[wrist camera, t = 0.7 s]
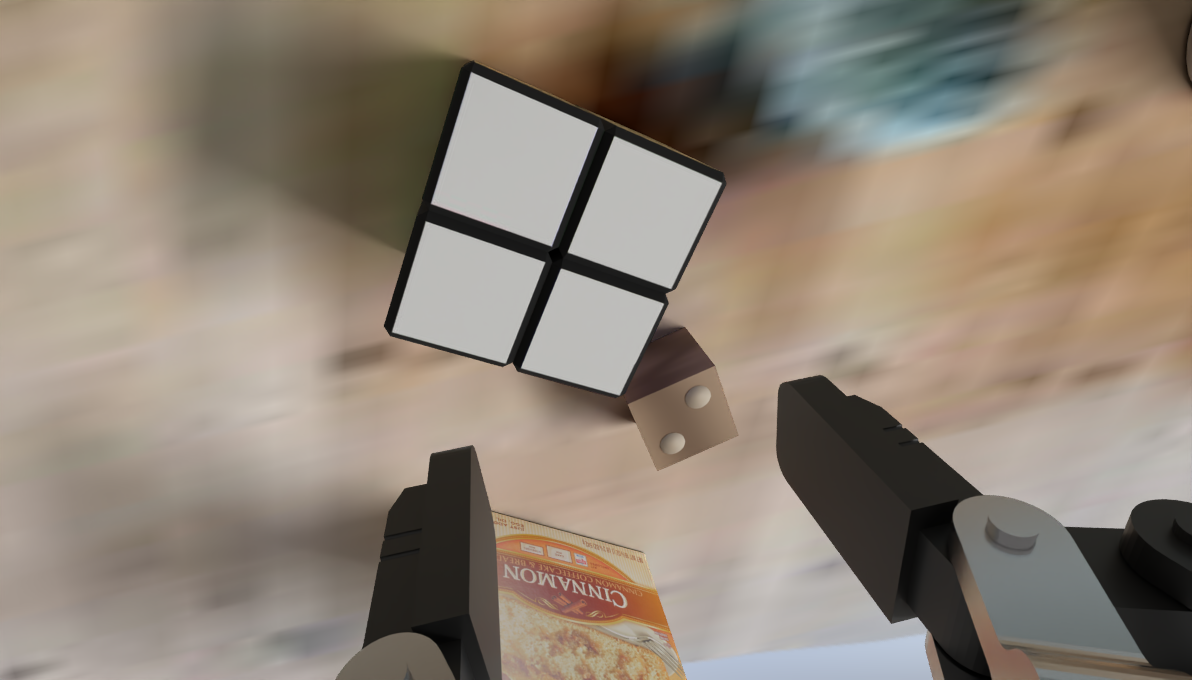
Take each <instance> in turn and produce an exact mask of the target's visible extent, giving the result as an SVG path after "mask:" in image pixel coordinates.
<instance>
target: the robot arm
mask: <svg viewBox="0 0 1192 680" xmlns="http://www.w3.org/2000/svg"><path fill="white" fill-rule="evenodd" d="M1186 61H1187V68H1188V74H1189V77H1190V79H1191V81H1192V25H1191V29H1190V34H1189V38H1188V42H1187V57H1186ZM776 451H777V458H778V462H779V466H780V469H781V471H782V473H783V476H784V477H785V479H786V481H787V482H788V484H789V485H790V486H791V488H792V489H793V490H794V492H795V493H796V494H797V496H798V497H799V499H800V500H801V501H802V503H803V504H804V505H805V507H806V508H807V509H808V511H809V512H810V514H811V515H812V516H813V518H814V519H815V520H816V522H817V523H818V524H819V526H820V527H821V529H822V530H823V531H824V533H825V534H826V535H827V537H828V538H829V540H830V541H831V542H832V544H833V545H834V546H835V548H836V549H837V550H838V552H839V553H840V555H841V556H842V557H843V559H844V560H845V561H846V563H847V564H848V565H849V567H850V568H851V570H852V571H853V572H854V574H855V575H856V576H857V578H858V579H859V580H860V582H861V583H862V585H863V586H864V587H865V589H866V590H867V591H868V593H869V594H870V595H871V597H872V598H873V600H874V601H875V602H876V604H877V605H878V606H879V608H880V609H881V610H882V612H883V613H884V615H885V616H886V617H887V619H888V620H889V621H890V623H891V624H892V623H896V622H900V621H904V620H908V619H912V618H915V617H918V618H919V619H920V621H921V622H922V623H923V624H924V626H925V627H926V628H927V629H928V630H927V634H926V639H925V648H926V654H927V658H928V661H929V665H930V669H931V673H932V677H933V680H1192V503H1189V502H1184V501H1178V500H1167V499H1161V500H1150V501H1146V502H1143V503H1140V504H1138V505H1137V506H1135V508H1134V509H1133V510H1132V512H1131V515H1130V517H1129V520H1128V522H1127V524H1126V527H1125V529H1114V528H1084V527H1064V526H1063V525H1062V524H1061V523H1060V522H1059V521H1057V520H1056V519H1055V518H1053V517H1052V516H1051V515H1049V514H1048V513H1046V512H1044V511H1043V510H1041V509H1039V508H1037V507H1035V506H1033V505H1030V504H1028V503H1025V502H1023V501H1019V500H1016V499H1013V498H1008V497H1003V496H995V495H983V494H981V493H980V492H979V491H978V490H977V489H976V488H975V487H973V486H972V485H971V484H970V483H969V482H968V481H966V480H965V479H964V478H963V477H962V476H961V475H959V474H958V473H957V472H956V471H955V470H954V469H953V468H951V467H950V466H949V465H948V464H947V463H946V462H944V461H943V460H942V459H941V458H940V457H939V456H937V455H936V454H935V453H934V452H933V451H932V450H931V449H929V448H928V447H927V446H926V445H925V444H924V443H919V441H918V438H917V437H915V436H914V435H913V434H912V433H911V432H910V431H909V430H907V429H906V428H902V424H900V423H899V422H898V421H897V420H896V419H895V418H893V417H892V416H891V415H890V414H889V413H888V412H887V411H885V410H884V409H883V408H882V407H880V406H878V405H875V404H873V403H871V402H869V401H867V400H865V399H862V398H860V397H858V396H856V395H852V396H846V395H845V394H844V393H843V392H841V391H840V390H839V389H838V388H837V387H836V386H835V385H834V384H833V383H832V382H831V381H829V380H828V379H827V378H826V377H824V376H822V375H818V376H813V377H808V378H803V379H798V380H794V381H789V382H784V383H782V384H781V385H780V387H779V390H778V409H777V440H776ZM384 539H385V541H383V544H382V549H381V555H380V559H381V562H379V565H378V570H377V576H376V581H375V586H374V591H373V597H372V602H371V607H370V612H369V618H368V623H367V628H366V633H365V639H364V643H363V647H362V650H361V651H359V652H358V653H357V654H356V655H355V656H354V657H352V659H351V660H350V661H349V662H348V663H347V664H346V665H345V666H344V667H343V669H342V670H341V671H340V673H339V674H338V676H337V678H336V679H335V680H502V668H501V645H500V621H499V598H498V574H497V550H496V536H495V529H494V522H493V517H492V512H491V508H490V504H489V500H488V496H487V492H486V489H485V485H484V481H483V477H482V473H481V469H480V466H479V462H478V458H477V454H476V451H475V448H474V446H473V445H471V446H466V447H461V448H457V449H452V450H447V451H442V452H437V453H432V454H431V456H430V462H429V471H428V480H427V484H424V485H419V486H414V487H409V488H405V489H404V490H403V492H402V493H401V495H400V496H399V498H398V499H397V501H396V502H395V503H394V505H393V506H392V508H391V509H390V511H389V513H388V518H387V523H386V529H385V534H384Z"/></svg>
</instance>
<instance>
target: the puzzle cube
mask: <svg viewBox="0 0 1192 680" xmlns="http://www.w3.org/2000/svg"><path fill="white" fill-rule="evenodd" d="M725 186H726V181H725V177H724V174H723V172H721V171H719V170H716V169H714V168H712V167H710V166H708V165H706V164H704V163H702V162H699V161H697V160H695V159H693V158H691V157H689V156H687V155H685V154H682V153H681V152H679V151H677V150H675V149H673V148H671V147H669V146H667V145H664V144H662V143H660V142H658V141H656V140H654V139H651V138H649V137H647V136H645V135H642V134H640V133H638V132H636V131H633V130H631V129H629V128H627V127H624V126H622V125H620V124H617V123H615V122H613V121H611V120H608V119H606V118H604V117H602V116H599V115H597V114H595V113H593V112H590V111H588V110H586V109H583V108H581V107H579V106H577V105H573V104H571V103H569V102H567V101H565V100H563V99H561V98H559V97H556V96H554V95H552V94H549V93H547V92H545V91H543V90H540V89H538V88H536V87H534V86H531V85H529V84H527V83H525V82H522V81H520V80H518V79H515V78H513V77H511V76H509V75H506V74H504V73H502V72H500V71H497V70H495V69H493V68H491V67H488V66H486V65H484V64H482V63H479V62H477V61H475V60H473V61H471V62H469V63H467V64H465V65H464V66H463V67H462V68H461V71H460V74H459V77H458V81H457V84H456V87H455V91H454V94H453V97H452V101H451V104H450V107H449V111H448V114H447V117H446V121H445V124H444V127H443V131H442V134H441V137H440V141H439V144H438V147H437V151H436V154H435V157H434V161H433V164H432V167H431V171H430V174H429V177H428V181H427V184H426V187H425V191H424V194H423V197H422V199H423V201H422V204H421V206H420V209H419V212H418V214H417V217H416V221H415V224H414V227H413V231H412V234H411V237H410V241H409V244H408V247H407V251H406V254H405V257H404V261H403V264H402V267H401V271H400V274H399V277H398V281H397V284H396V287H395V291H394V294H393V297H392V301H391V304H390V307H389V311H388V314H387V317H386V321H385V324H384V327H385V329H386V330H387V332H388V333H389V335H390V336H392V337H395V338H399V339H403V340H406V341H410V342H414V343H417V344H421V345H425V346H428V347H432V348H436V349H439V350H443V351H446V352H450V353H454V354H457V355H461V356H465V357H468V358H472V359H476V360H479V361H483V362H487V363H490V364H494V365H497V366H501V367H504V366H506V365H508V364H510V363H512V362H513V364H514V366H515V368H516V370H517V371H518V372H521V373H525V374H528V375H532V376H536V377H539V378H543V379H547V380H550V381H554V382H558V383H561V384H565V385H569V386H572V387H576V388H580V389H583V390H587V391H590V392H594V393H598V394H601V395H605V396H609V397H612V398H617V397H619V396H621V395H624V394H625V393H626V391H627V389H628V387H629V385H630V382H631V380H632V378H633V376H634V374H635V372H636V370H637V368H638V366H639V364H640V362H641V360H642V358H643V356H644V354H645V351H646V349H647V347H648V345H649V343H650V341H651V339H652V337H653V335H654V333H655V331H656V329H657V327H658V325H659V323H660V320H661V318H662V316H663V314H664V312H665V310H666V308H667V306H668V304H669V303H668V300H667V297H666V293H668V292H670V291H673V290H675V289H676V287H677V285H678V283H679V281H680V279H681V277H682V275H683V273H684V271H685V269H686V267H687V265H688V263H689V261H690V258H691V256H692V254H693V252H694V250H695V248H696V246H697V244H698V242H699V240H700V238H701V236H702V234H703V232H704V230H705V228H706V225H707V223H708V221H709V219H710V217H711V215H712V213H713V211H714V209H715V207H716V205H717V203H718V201H719V199H720V197H721V194H722V192H723V190H724V188H725Z"/></svg>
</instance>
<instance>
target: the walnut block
mask: <svg viewBox="0 0 1192 680" xmlns="http://www.w3.org/2000/svg"><path fill="white" fill-rule="evenodd" d="M624 397H625V399H626V402H627V404H628V406H629V409H630V411H631V413H632V415H633V418H634V420H635V422H636V424H637V427H638V429H639V431H640V433H641V436H642V438H643V440H644V442H645V445H646V447H647V449H648V451H649V454H650V456H651V458H652V460H653V463H654V465H655V467H656V469H657V471H659V470H661V469H663V468H666V467H668V466H670V465H673V464H675V463H677V462H679V461H682V460H684V459H686V458H688V457H691V456H693V455H695V454H698V453H700V452H702V451H704V450H707V449H709V448H711V447H714V446H716V445H718V444H720V443H723V442H725V441H727V440H729V439H732V438H734V437H736V436H738V433H737V430H736V427H735V424H734V421H733V418H732V415H731V412H730V409H729V406H728V403H727V400H726V397H725V394H724V391H723V388H722V385H721V382H720V379H719V376H718V373H717V370H716V367H715V365H714V364H713V363H712V361H711V360H710V359H709V357H708V356H707V355H706V354H705V352H704V351H703V350H702V348H701V347H700V346H699V345H698V343H697V342H696V341H695V339H694V338H693V337H692V335H691V334H690V333H689V332H688V330H687V329H686V328H685V327H684V328H682V329H680V330H678V331H675V332H673V333H671V334H669V335H666V336H664V337H662V338H659V339H657V340H655V341H653V342H650V343H649V345H648V347H647V349H646V351H645V354H644V356H643V358H642V360H641V362H640V364H639V366H638V368H637V370H636V372H635V374H634V376H633V378H632V380H631V382H630V385H629V387H628V389H627V391H626V393H625V394H624Z"/></svg>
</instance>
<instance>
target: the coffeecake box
mask: <svg viewBox="0 0 1192 680" xmlns="http://www.w3.org/2000/svg"><path fill="white" fill-rule="evenodd" d="M492 517H493V522H494V529H495V536H496V550H497V574H498V598H499V621H500V645H501V668H502V680H687V679H686V676H685V673H684V670H683V667H682V664H681V661H680V658H679V655H678V652H677V649H676V646H675V643H674V640H673V637H672V634H671V632H670V629H669V626H668V623H667V620H666V617H665V614H664V611H663V608H662V605H661V602H660V599H659V596H658V593H657V590H656V587H655V584H654V581H653V578H652V575H651V572H650V569H649V566H648V563H647V560H646V555H645V554H644V553H641V552H638V551H634V550H631V549H627V548H623V547H619V546H616V545H612V544H609V543H605V542H602V541H598V540H594V539H590V538H586V537H583V536H579V535H576V534H572V533H568V532H565V531H561V530H557V529H554V528H550V527H546V526H543V525H539V524H535V523H532V522H528V521H524V520H521V519H517V518H513V517H510V516H506V515H502V514H499V513H495V512H492Z"/></svg>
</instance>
